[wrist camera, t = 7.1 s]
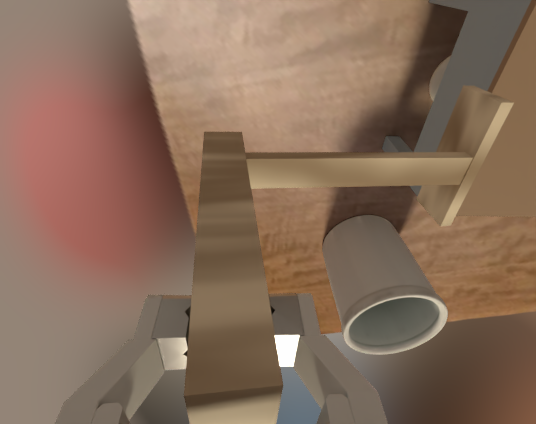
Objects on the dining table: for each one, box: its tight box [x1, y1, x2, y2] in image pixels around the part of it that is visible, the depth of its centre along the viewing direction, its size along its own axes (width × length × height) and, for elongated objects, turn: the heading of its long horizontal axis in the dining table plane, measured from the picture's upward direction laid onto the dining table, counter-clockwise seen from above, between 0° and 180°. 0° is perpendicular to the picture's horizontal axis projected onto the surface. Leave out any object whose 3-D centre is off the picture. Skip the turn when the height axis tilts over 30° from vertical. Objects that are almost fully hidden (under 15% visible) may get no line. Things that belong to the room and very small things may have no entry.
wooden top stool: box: [382, 0, 536, 217], centre depth 35 cm, size 20×14×16 cm
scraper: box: [184, 85, 514, 424], centre depth 16 cm, size 9×18×16 cm, turn 86°
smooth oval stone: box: [429, 55, 451, 101], centre depth 41 cm, size 7×7×1 cm
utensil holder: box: [323, 215, 448, 354], centre depth 51 cm, size 15×15×18 cm
